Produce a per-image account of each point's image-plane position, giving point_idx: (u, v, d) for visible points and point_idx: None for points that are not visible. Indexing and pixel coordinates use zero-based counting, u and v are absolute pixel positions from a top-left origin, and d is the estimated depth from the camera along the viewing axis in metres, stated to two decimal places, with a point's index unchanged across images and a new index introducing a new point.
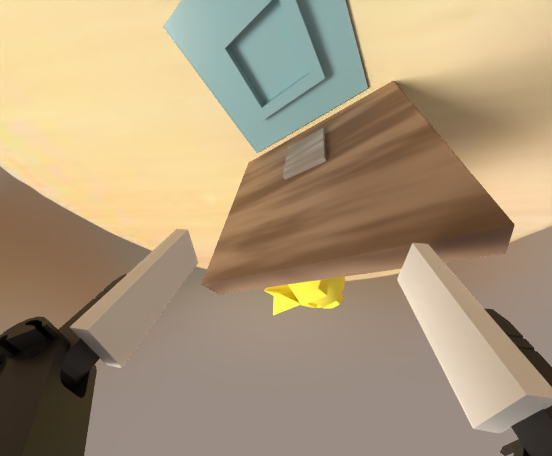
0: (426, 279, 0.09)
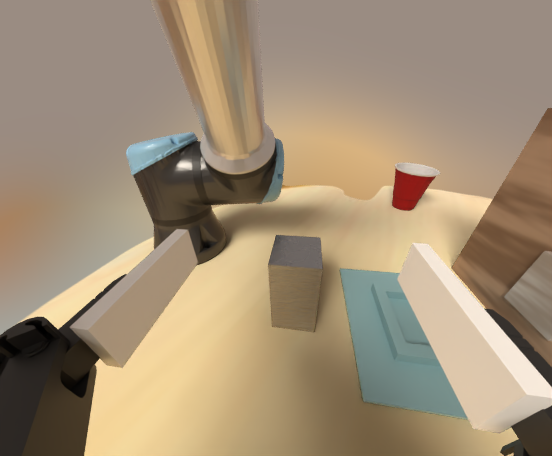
0: (426, 278, 0.09)
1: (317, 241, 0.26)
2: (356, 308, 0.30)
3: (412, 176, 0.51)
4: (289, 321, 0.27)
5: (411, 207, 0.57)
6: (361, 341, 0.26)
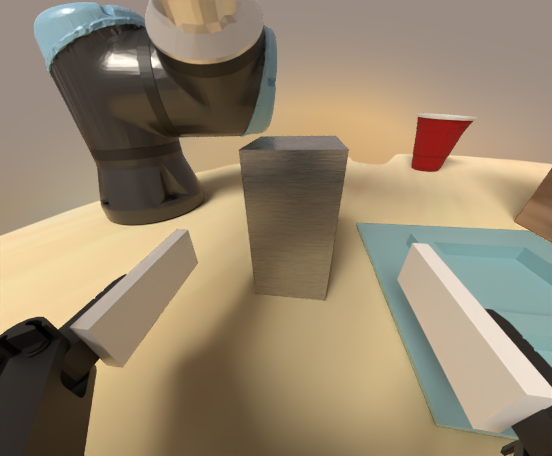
0: (426, 279, 0.09)
1: (331, 137, 0.15)
2: (390, 267, 0.19)
3: (441, 121, 0.40)
4: (283, 281, 0.16)
5: (437, 167, 0.46)
6: (408, 312, 0.15)
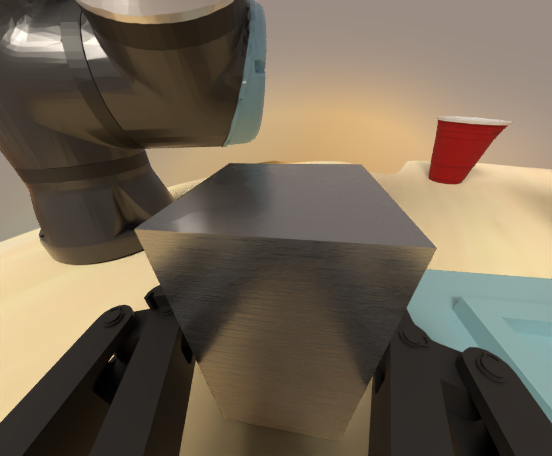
0: None
1: (355, 170, 0.08)
2: None
3: (470, 126, 0.34)
4: (268, 415, 0.09)
5: (460, 179, 0.39)
6: None
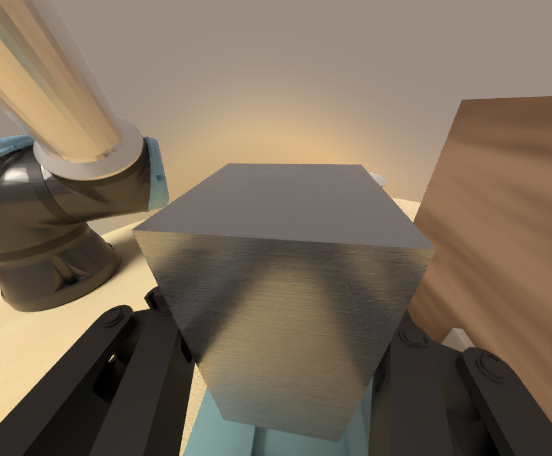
0: None
1: (355, 170, 0.08)
2: None
3: None
4: (267, 416, 0.09)
5: None
6: (195, 454, 0.17)
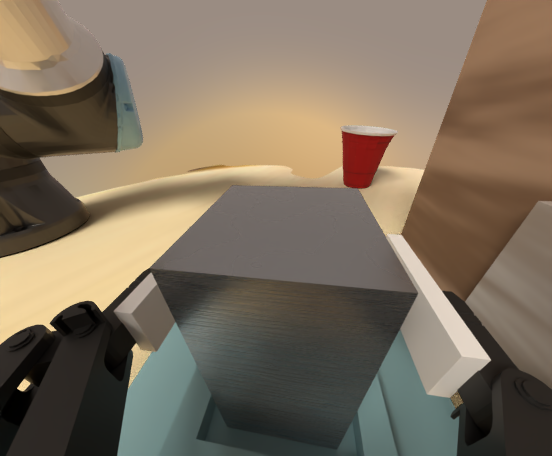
0: None
1: (352, 195, 0.08)
2: (180, 336, 0.16)
3: (358, 136, 0.37)
4: (269, 425, 0.10)
5: (365, 184, 0.43)
6: (125, 421, 0.11)
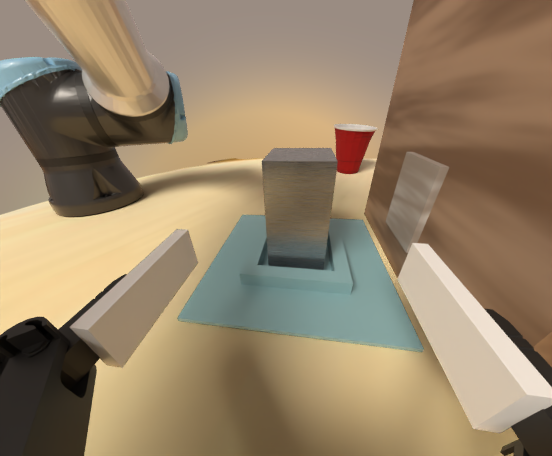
0: (426, 278, 0.09)
1: (327, 149, 0.19)
2: (234, 244, 0.27)
3: (347, 132, 0.48)
4: (290, 259, 0.21)
5: (353, 170, 0.54)
6: (217, 269, 0.23)
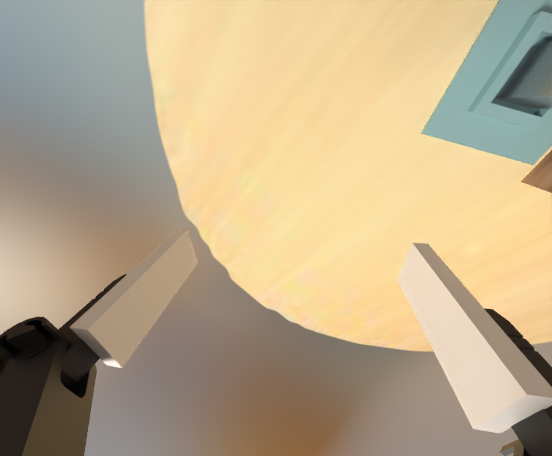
0: (426, 279, 0.09)
1: None
2: (482, 50, 0.28)
3: None
4: (520, 102, 0.29)
5: None
6: (454, 92, 0.30)
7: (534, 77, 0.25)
